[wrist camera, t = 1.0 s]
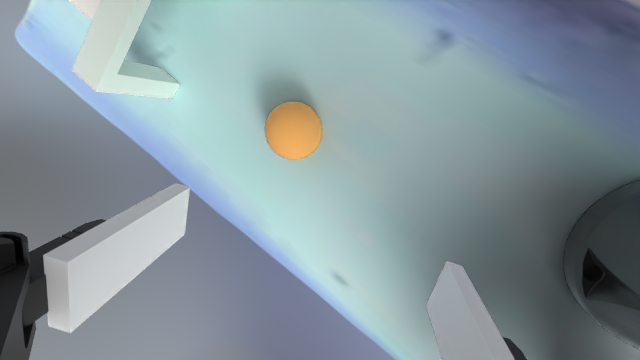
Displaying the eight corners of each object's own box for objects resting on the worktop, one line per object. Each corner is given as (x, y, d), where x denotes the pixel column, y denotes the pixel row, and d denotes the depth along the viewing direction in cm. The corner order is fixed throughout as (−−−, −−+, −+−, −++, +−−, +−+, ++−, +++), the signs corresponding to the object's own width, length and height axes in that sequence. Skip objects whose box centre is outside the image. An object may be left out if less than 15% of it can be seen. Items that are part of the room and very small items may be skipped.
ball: (338, 125, 30) (325, 127, 25) (306, 166, 32) (288, 175, 27) (298, 91, 31) (277, 85, 26) (268, 133, 32) (243, 136, 27)
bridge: (237, -19, 30) (170, -75, 21) (172, 98, 35) (95, 91, 26) (215, -37, 30) (141, -100, 22) (153, 82, 35) (71, 69, 26)
